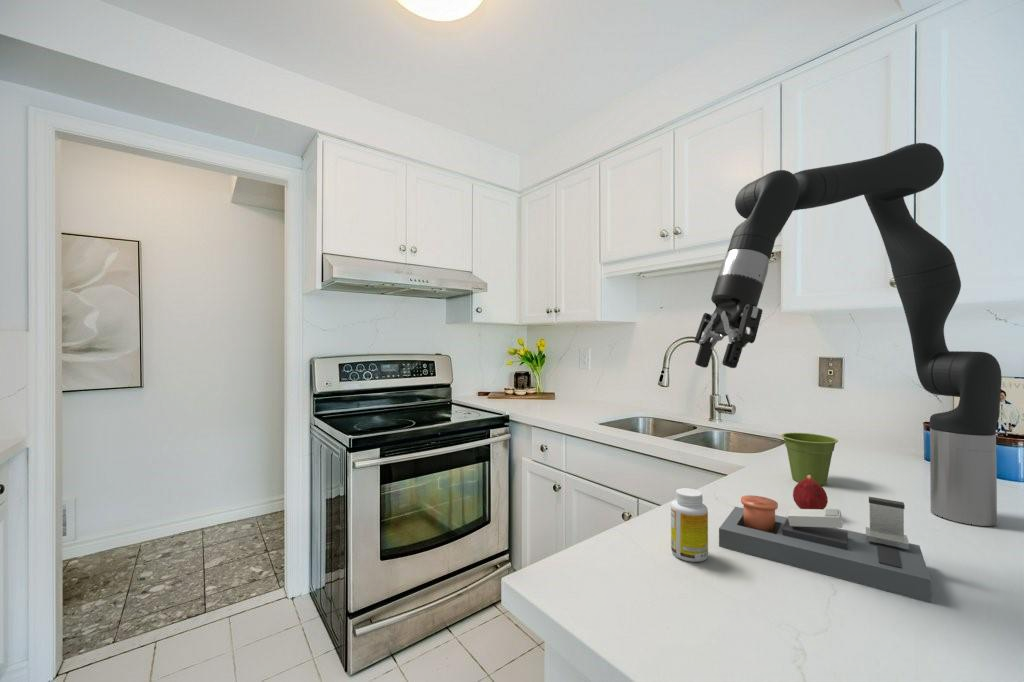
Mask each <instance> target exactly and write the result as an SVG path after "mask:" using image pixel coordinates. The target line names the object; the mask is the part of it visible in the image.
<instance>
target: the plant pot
mask: <svg viewBox="0 0 1024 682" xmlns="http://www.w3.org/2000/svg"><path fill="white" fill-rule="evenodd" d="M781 437H782V438H783V440H784V444H785V447H786V452H787V456H788V462H789V467H790V475H791V479H792V480H793V481H795V482H797V483H799V482H801V481H803V480H805V479H806V478H807V476H808V475H811V476H812V477H813V480H814V481H815V482H817V483H818V484H820V485H821V486H824V485H825V484H827V482H828V478H829V473H830V467H831V462H832V457H833V452H834V451H835V446H836V444H837V443H838V442H839V440H838V438H835V437H831V436H828V435H822V434H815V433H808V432H807V433H806V432H805V433H804V432H785V433H781Z"/></svg>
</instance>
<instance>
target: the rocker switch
mask: <svg viewBox="0 0 1024 682" xmlns="http://www.w3.org/2000/svg"><path fill="white" fill-rule="evenodd" d="M787 518H788V520H789V525H790V526H803V527H829V528H840V529H843V522H844V520H843V516H842V511H841V509H838V508H825V509H800V508H790V509H789V511H788V514H787Z"/></svg>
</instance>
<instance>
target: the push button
mask: <svg viewBox="0 0 1024 682" xmlns="http://www.w3.org/2000/svg"><path fill="white" fill-rule="evenodd" d="M740 502H741V504H742V505H743V507H742V508H743V515H744V525H745V526H746V527H748V528H752V529H756V530H760V531H765V532H772V531H775V515H776V510H778V507H779V503H778V502H777V501H776V500H774V499H772V498H768V497H766V496H761V495H751V494H749V495H743V496H741V497H740Z"/></svg>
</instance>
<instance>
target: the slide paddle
mask: <svg viewBox="0 0 1024 682" xmlns="http://www.w3.org/2000/svg"><path fill="white" fill-rule="evenodd" d="M868 503H869V527H867V526H865V534H866V540H867V541H872V542H876V543H881V544H885V545H890V546H895V547H899V548H904V549H909V539H908V536H907V534H905V527H904V526H905V525H904V524H905V519H904V518H905V516H904V515H905V514H904V513H905V512H904V510H905V502H903V501H897V500H891V499H885V498H880V497H874V496H868Z"/></svg>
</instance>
